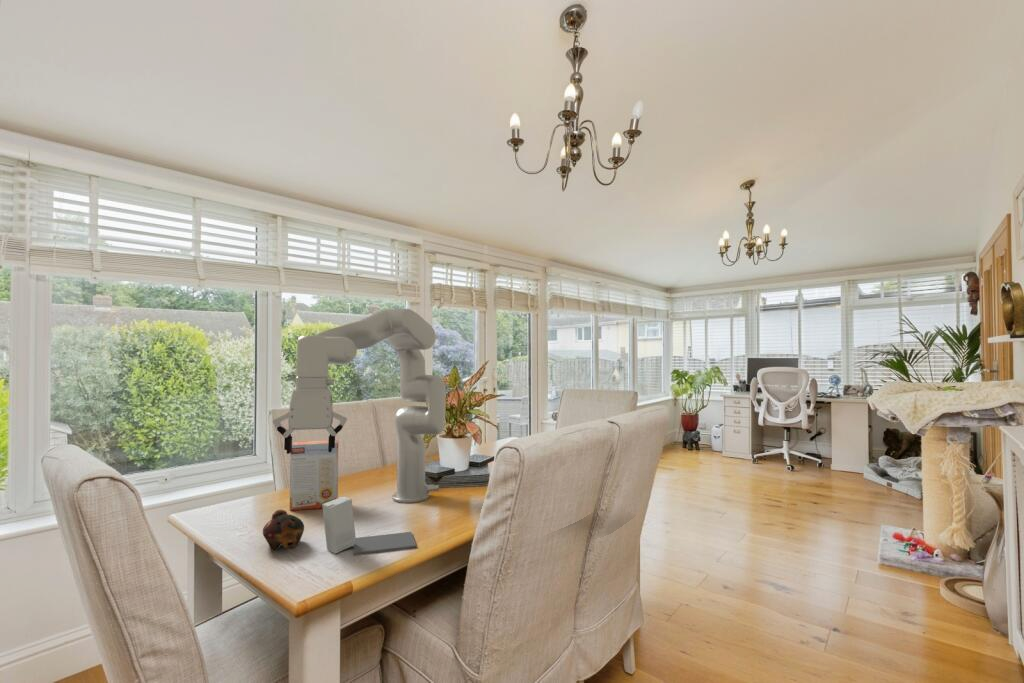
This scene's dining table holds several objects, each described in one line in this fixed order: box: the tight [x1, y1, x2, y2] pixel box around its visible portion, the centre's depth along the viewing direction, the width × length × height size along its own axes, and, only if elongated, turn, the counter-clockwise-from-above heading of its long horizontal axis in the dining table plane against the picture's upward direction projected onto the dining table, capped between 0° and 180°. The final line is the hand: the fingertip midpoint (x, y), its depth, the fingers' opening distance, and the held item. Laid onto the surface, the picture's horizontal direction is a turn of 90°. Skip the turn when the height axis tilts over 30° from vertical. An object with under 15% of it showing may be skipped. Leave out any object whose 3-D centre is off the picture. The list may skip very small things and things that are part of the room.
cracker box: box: [289, 439, 339, 511], centre depth 154 cm, size 14×6×21 cm, turn 104°
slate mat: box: [353, 531, 417, 556], centre depth 123 cm, size 15×10×1 cm, turn 109°
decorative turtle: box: [262, 509, 305, 551], centre depth 122 cm, size 10×15×8 cm, turn 43°
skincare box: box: [322, 496, 357, 554], centre depth 119 cm, size 6×4×12 cm
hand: (309, 452), depth 120 cm, fingers open, 9 cm apart
